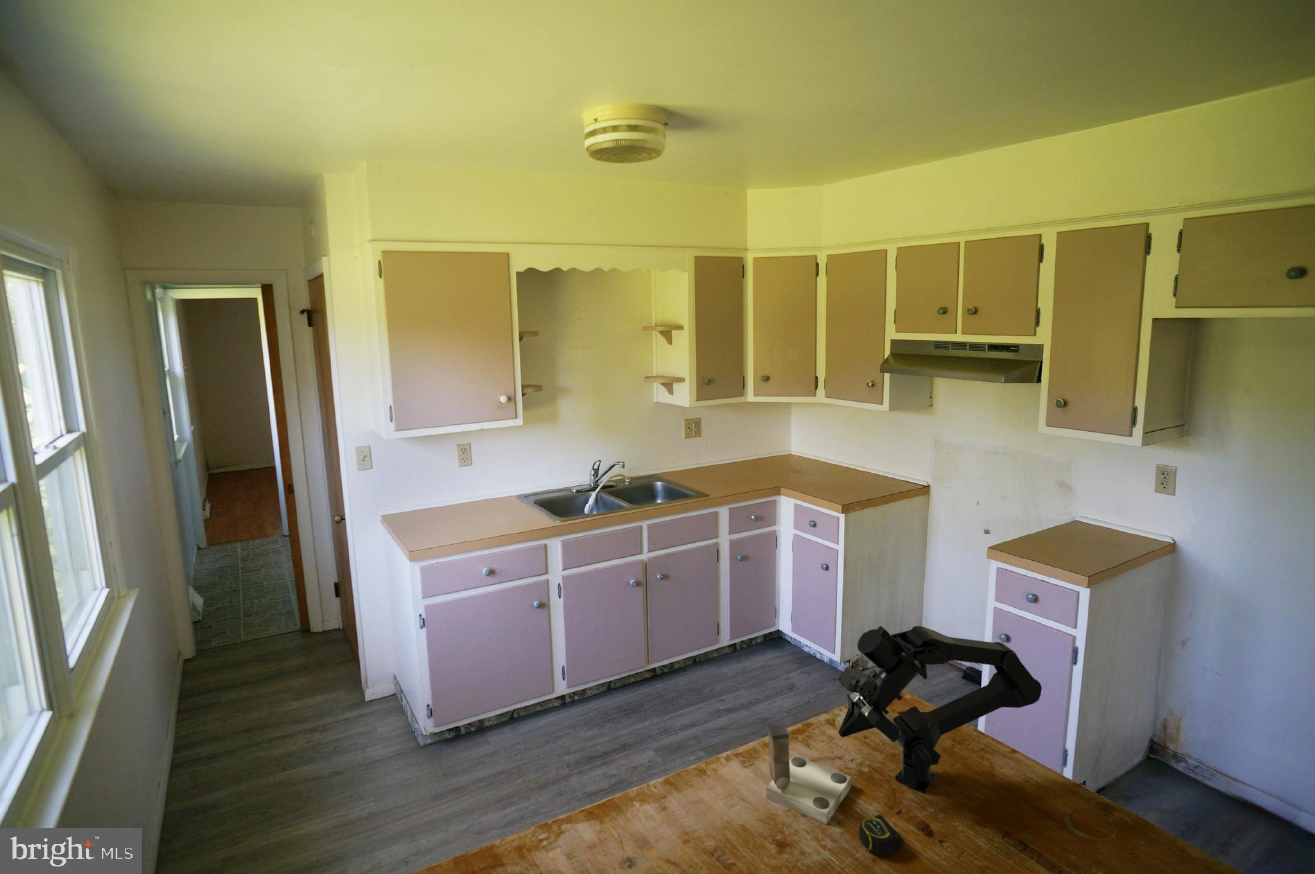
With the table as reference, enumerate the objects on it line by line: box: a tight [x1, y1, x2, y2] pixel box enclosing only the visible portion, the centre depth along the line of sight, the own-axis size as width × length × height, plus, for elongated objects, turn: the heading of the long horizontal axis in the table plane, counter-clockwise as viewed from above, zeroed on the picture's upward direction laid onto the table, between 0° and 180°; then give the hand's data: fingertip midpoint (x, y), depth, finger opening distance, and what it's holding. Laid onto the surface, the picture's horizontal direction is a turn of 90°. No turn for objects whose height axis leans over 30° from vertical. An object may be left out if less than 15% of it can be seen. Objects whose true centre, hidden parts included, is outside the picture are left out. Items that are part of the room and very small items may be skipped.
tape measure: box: [858, 813, 904, 856], centre depth 130 cm, size 7×7×4 cm
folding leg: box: [766, 723, 790, 790], centre depth 142 cm, size 3×3×12 cm
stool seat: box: [765, 754, 852, 825], centre depth 144 cm, size 13×13×3 cm
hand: (840, 735), depth 143 cm, fingers closed
